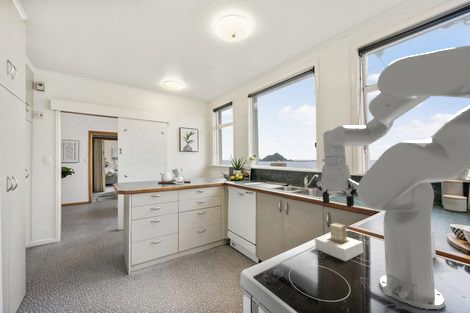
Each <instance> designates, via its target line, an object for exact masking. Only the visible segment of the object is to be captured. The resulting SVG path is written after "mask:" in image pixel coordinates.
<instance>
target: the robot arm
mask: <svg viewBox="0 0 470 313" xmlns="http://www.w3.org/2000/svg"><path fill="white" fill-rule="evenodd" d="M377 89H378V90H379V91H380V93H379V94H378V95H376V96H375V97H373V99H371V100H370V102H369V103H368V110H369V114H371V116H372V117H373V118H372V119H371V120H369V121H368V122H367V123H365V124H364V125H339V126H336V127H335V128H333V129H330V130H326V131H324V132H323V135H322V136H323V138H322V139H323V156H324V157H323V159H322V160H321V161H322V162H323V163H324V165H322V168H321V177H320V178H321V179H320V180H319V181H317V182H316V186H317V187H318V190H319V191H320V193H321V194H322V203H323V204H329V203H330V194H329V191H339V192H344V193H345V194H346V195H347V196H346V197H345V198H346V200H345V201H346V207H347V208H351V207H352V208H353V207H354V205H355V200H354V199H355V198H354V197H355V195H356V194H357V197H358V198H359V200H360V202H361V203H362V205H364V206H365V207H367V208H368V209H371V210H374V211H385V212H384V216H383V221H382V222H383V240H384V241H383V245H384V260H385V263H384V264H385V275H382V276H381V277H380V278H379V286H380V288H381V289H382V292H383V293H384V295H386V296H388V297H391V298H393V299H395V300H396V299H397V301H398V300H400V301H399V302H401V301H402V302H401V303H403V302H406V303H409V304H411V305H413V306H412V307H414V306H416V307H415V308H417V307H420V308H419V309H422V308H425V309H424V310H428V309H437V310H441V309H443V308H444V307H445V306H446V305H445V297H444V296H443V295H442V293H441V292H439V291H438V290H437V289H436V288H435V273H434V272H435V271H434V259H433V255H432V239H431V237H432V236H431V231H432V211H433V206H434V200H435V192H434V188H433V185H432V183H442V182H447V181H450V180H452V179H455V178H457V177H458V176H459V175H461V174H462V173H463V172H465V171H466V170H467V169H468V168H470V105H468V106H467V107H465V108H464V109H462V110H460V111H458V112H457V113H456V114H455V115H453V116H452V117H450V118H449V119H448V120H447V121H446V122H445V123H444V124H443V125H442V126H441V127H440V128H439V129H438V130H437V131H435V133H433V135H431V136H430V137H428V138H426V139H424V140H404V141H402V142H401V141H400V142H397V143H395V144H394V145H392V146H390V147H388V148H387V149H386V150H385V151H384V152H383V153H382V154H380V156H379V157H378V158H377V160H376V161H375V162H374V163H373V164H372V165H371V167H370V168H369V169H368V170H367V171H366V172H365V174H363V176H362V177H361V179H360V180H359V182H356V181H355V180H352V176H351V171H350V168H349V164H347V158H346V155H347V154H346V147H366V146H369V145H371V144H373V143H376V142H377V141H378V140H380V139H381V138H383V137H385V136H386V135H387V134H389V133H388V132H390V130H391V129H392V126H393V124H394V122H395V121H396V120H397V119H399V118H400V117H402V116H403V115H405V114H406V113H408V112H410V111H411V110H412V109H414V108H416V107H417V106H419V105H420V104H422V102H423V103H424V102H425V101H427V99H430V97H449V98H462V99H463V98H466V99H470V45H464V46H463V45H462V46H456V47H450V48H444V49H439V50H435V51H431V52H426V53H420V54H415V55H409V56H405V57H400V58H398V59H396V60H394V61H392V62H390V63H389V64H387V65H386V66H385V67H384V68H383V69H382V71H381V73H380V74H379V76H378V79H377ZM352 187H353V189H352Z"/></svg>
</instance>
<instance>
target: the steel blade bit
mask: <svg viewBox="0 0 470 313" xmlns="http://www.w3.org/2000/svg"><path fill="white" fill-rule="evenodd" d="M431 236H432V237H431V239H432V255H433V260H434V259H435V258H436V257H437V256H436V254H437V253H436V240H435V238H436V237H435V231H434V230H431Z"/></svg>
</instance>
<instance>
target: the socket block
mask: <svg viewBox="0 0 470 313" xmlns="http://www.w3.org/2000/svg"><path fill="white" fill-rule="evenodd" d="M314 240H315V241H314V242H315V243H314V244H315V246H314V247H315V250H318V251H320V252H322V253H324V254H327V255H328V256H332V257H334V258H337V259H339V260H342V261H344V262H348V261H349V260H351V259H353V258H355V257H357V256H359V255H361V254H363V253H364V242H363V241H361V240H358V239H354V238H352V237H349V236H347V243H344V244H342V245H341V244H338V243H335V242H332V241H331V233H328V234H326V235H322V236H319V237H317V238H316V237H315V238H314Z"/></svg>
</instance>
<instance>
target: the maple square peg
mask: <svg viewBox="0 0 470 313" xmlns="http://www.w3.org/2000/svg"><path fill="white" fill-rule="evenodd" d="M329 224H330V223H329ZM329 229H330V234H331V241H332V242H335V243H338V244H341V245H342V244H344V243H347V237H348V235H347V225H346V224H342V223H338V222H334V223H331V224H330V228H329Z"/></svg>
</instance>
